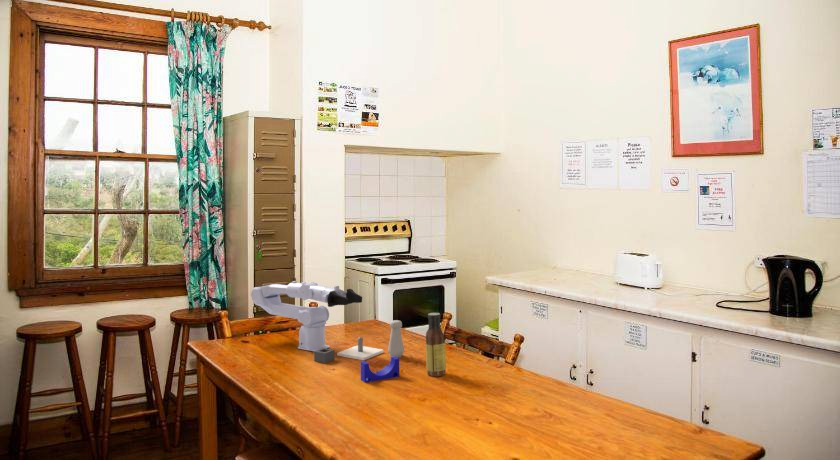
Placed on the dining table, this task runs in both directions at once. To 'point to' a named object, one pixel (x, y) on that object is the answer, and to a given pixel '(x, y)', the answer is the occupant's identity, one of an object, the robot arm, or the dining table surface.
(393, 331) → the salt shaker
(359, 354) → the peg base
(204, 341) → the dining table surface
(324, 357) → the square frame block
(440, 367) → the sauce bottle
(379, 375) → the blue cradle stand
